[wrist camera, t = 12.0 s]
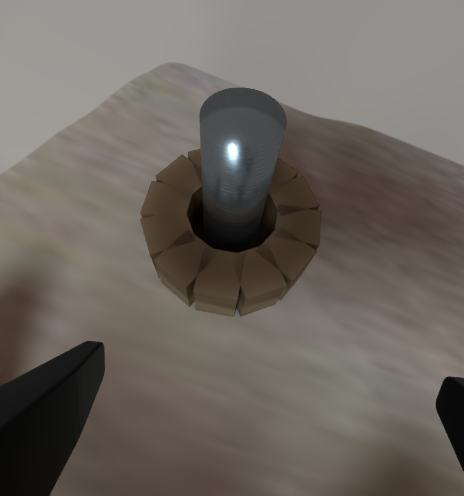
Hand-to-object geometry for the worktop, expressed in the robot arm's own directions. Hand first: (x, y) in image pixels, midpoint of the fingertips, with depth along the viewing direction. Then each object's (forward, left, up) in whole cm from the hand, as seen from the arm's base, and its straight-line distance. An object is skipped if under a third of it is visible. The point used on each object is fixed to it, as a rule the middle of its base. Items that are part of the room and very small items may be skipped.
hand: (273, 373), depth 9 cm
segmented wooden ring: (+11, -3, -14) cm, 18 cm away
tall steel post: (+11, -3, -14) cm, 18 cm away
